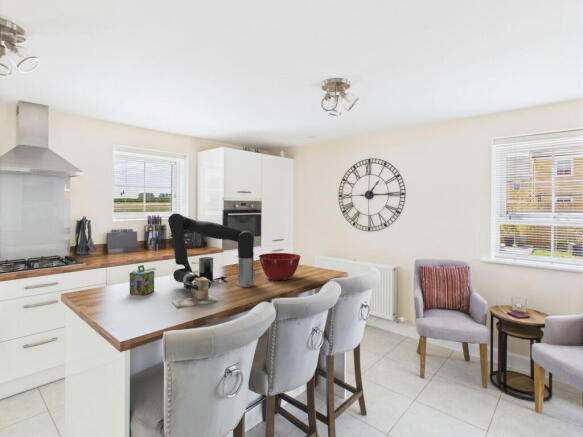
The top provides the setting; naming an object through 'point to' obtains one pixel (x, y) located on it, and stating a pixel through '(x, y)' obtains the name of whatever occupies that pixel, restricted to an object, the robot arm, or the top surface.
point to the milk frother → (207, 268)
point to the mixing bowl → (279, 265)
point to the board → (193, 301)
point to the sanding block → (201, 289)
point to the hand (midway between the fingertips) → (203, 287)
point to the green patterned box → (141, 281)
